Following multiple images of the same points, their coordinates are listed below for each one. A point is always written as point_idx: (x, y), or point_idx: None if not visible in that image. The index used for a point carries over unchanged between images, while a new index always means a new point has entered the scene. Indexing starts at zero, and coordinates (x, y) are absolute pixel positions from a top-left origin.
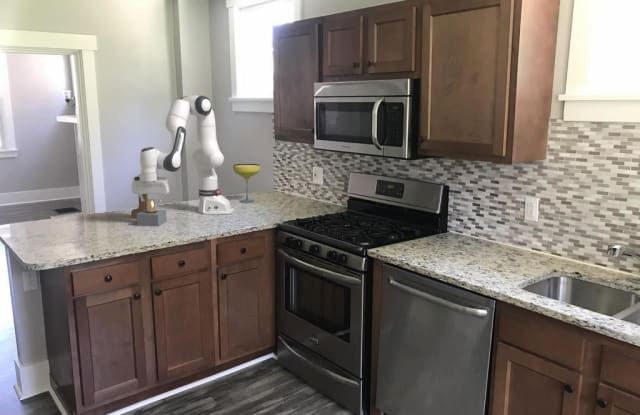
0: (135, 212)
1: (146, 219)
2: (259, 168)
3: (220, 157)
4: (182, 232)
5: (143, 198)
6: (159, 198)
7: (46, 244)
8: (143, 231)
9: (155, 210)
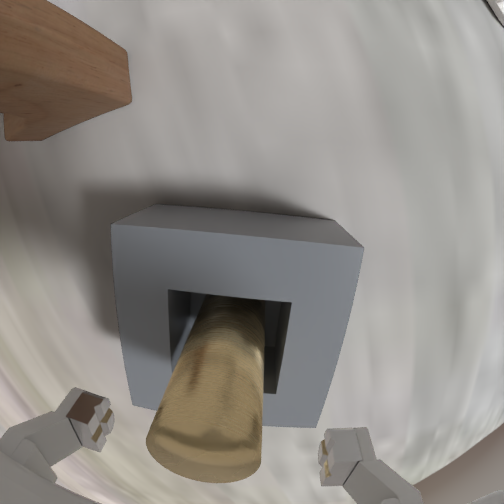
0: (33, 131)
1: None
2: None
3: None
4: (429, 435)
5: (82, 435)
6: (350, 492)
7: (61, 484)
8: None
9: (239, 265)
